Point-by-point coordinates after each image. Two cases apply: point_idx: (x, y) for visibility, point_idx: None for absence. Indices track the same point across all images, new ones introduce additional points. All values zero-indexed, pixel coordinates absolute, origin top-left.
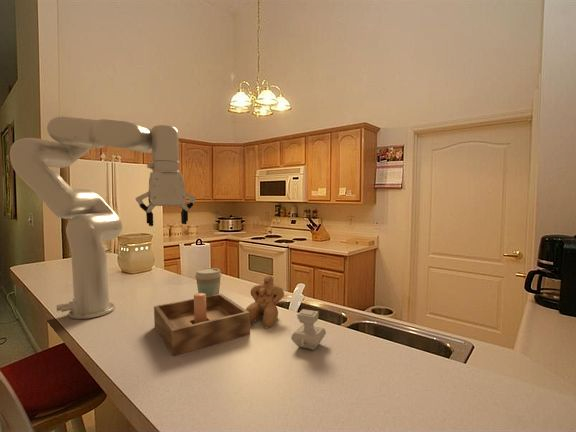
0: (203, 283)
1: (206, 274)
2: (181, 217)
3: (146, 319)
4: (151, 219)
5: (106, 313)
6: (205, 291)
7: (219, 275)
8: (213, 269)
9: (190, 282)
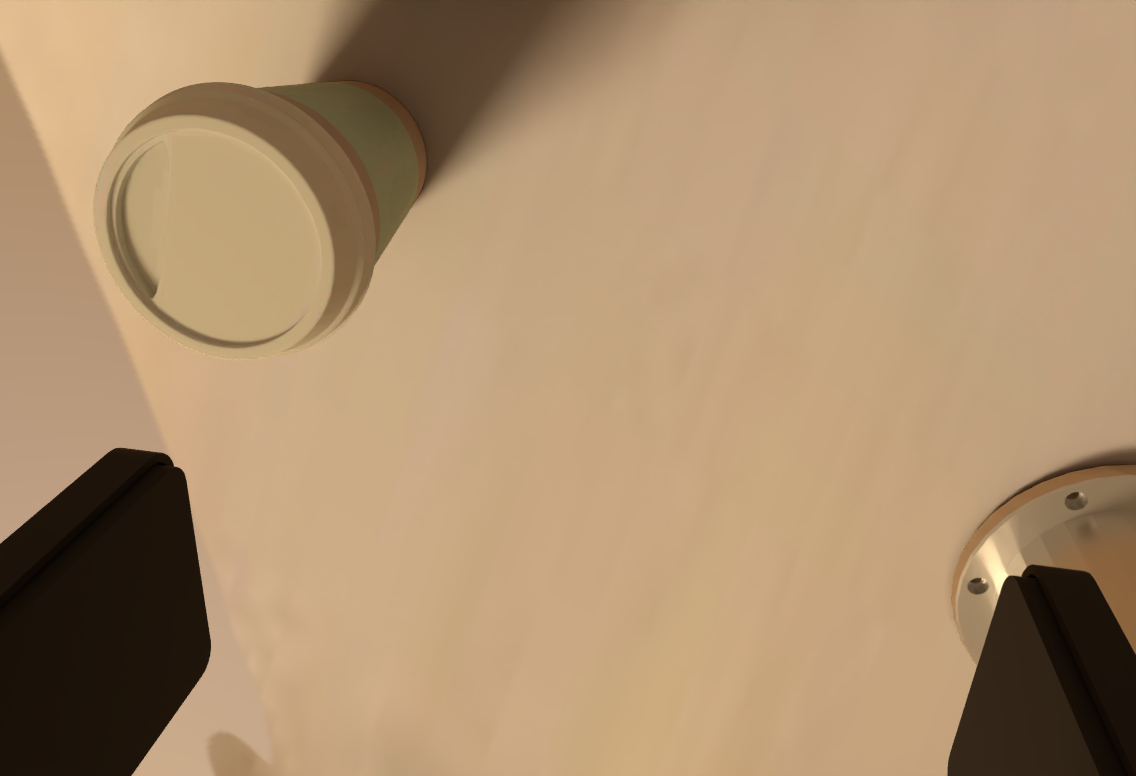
0: (338, 135)
1: (267, 132)
2: (125, 761)
3: (864, 182)
4: (1134, 694)
5: (1052, 479)
6: (352, 114)
7: (138, 116)
8: (147, 292)
9: (323, 735)
